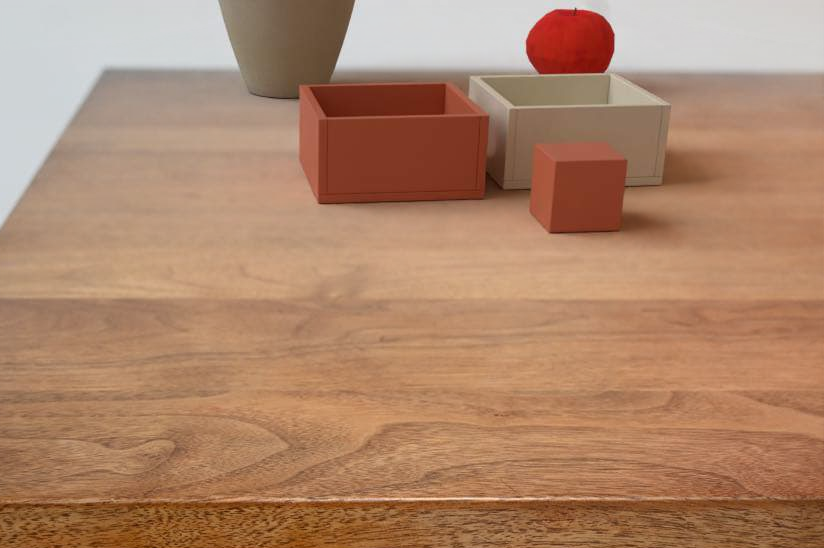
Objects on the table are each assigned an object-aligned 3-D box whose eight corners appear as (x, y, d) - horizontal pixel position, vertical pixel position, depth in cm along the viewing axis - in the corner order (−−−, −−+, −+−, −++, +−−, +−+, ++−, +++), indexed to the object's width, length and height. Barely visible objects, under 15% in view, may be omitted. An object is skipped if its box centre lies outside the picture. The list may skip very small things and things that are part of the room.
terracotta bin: (447, 156, 94) (451, 81, 92) (484, 198, 84) (489, 115, 81) (299, 160, 93) (299, 84, 91) (317, 203, 83) (318, 119, 80)
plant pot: (184, 82, 120) (178, -96, 113) (326, 70, 125) (328, -100, 119) (240, 113, 107) (237, -84, 101) (395, 99, 113) (401, -89, 106)
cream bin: (607, 145, 97) (615, 72, 95) (661, 185, 87) (671, 104, 84) (465, 149, 96) (469, 75, 94) (503, 189, 86) (508, 108, 83)
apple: (507, 89, 116) (513, 7, 113) (550, 77, 122) (556, -2, 119) (585, 101, 112) (593, 16, 109) (626, 88, 117) (634, 6, 114)
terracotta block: (596, 209, 81) (603, 141, 80) (620, 230, 77) (628, 159, 76) (528, 211, 81) (534, 143, 79) (549, 233, 77) (555, 161, 75)
